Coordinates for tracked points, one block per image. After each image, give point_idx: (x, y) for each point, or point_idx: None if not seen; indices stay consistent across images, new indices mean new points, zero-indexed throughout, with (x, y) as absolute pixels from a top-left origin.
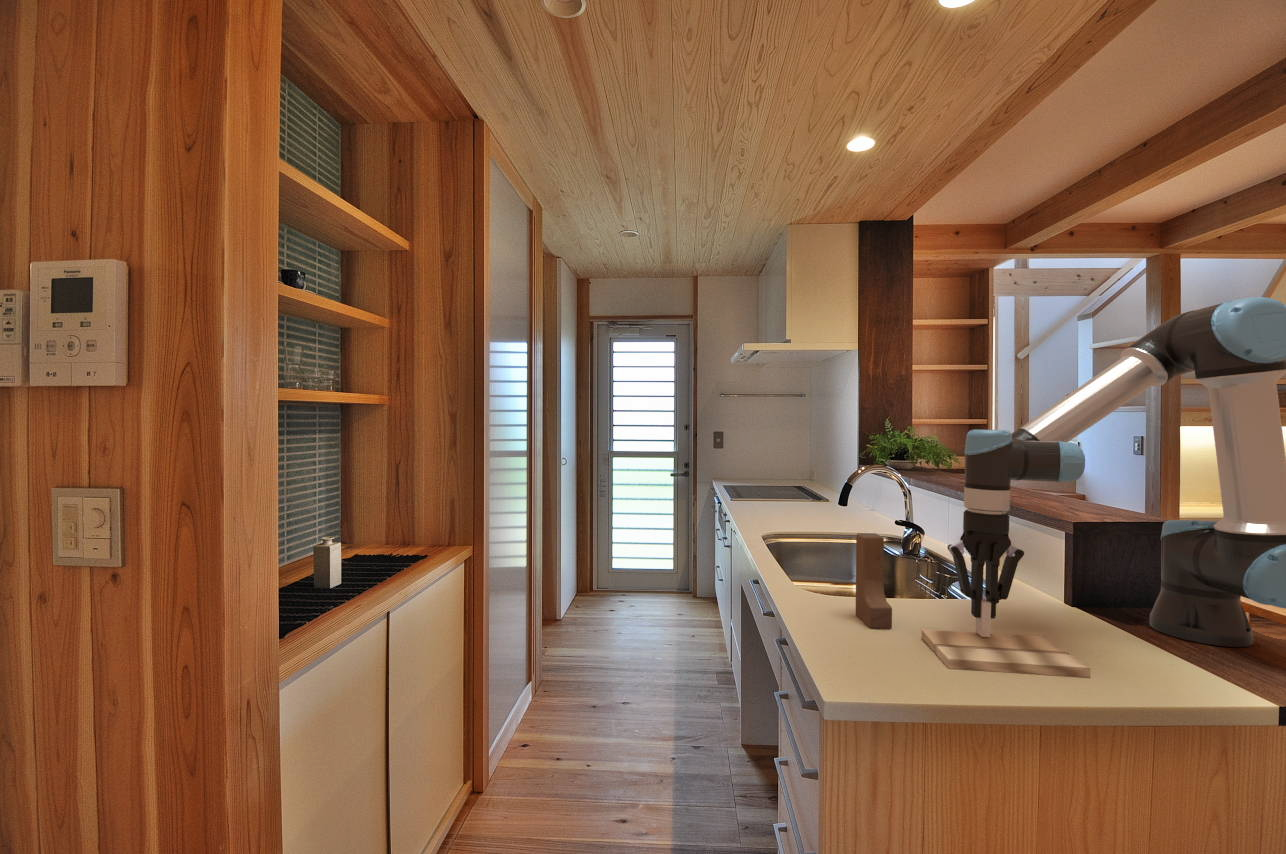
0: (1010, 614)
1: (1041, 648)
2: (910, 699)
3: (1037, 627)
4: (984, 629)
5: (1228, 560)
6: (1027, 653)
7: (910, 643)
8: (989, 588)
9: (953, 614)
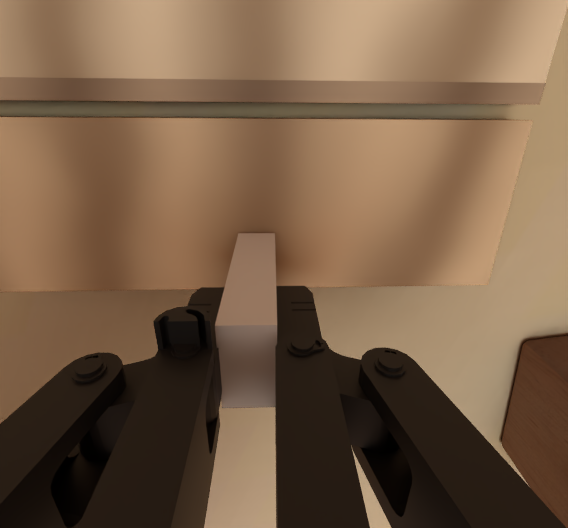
0: None
1: (38, 144)
2: None
3: None
4: (263, 245)
5: None
6: (126, 48)
7: (541, 211)
8: (200, 438)
9: (244, 486)
